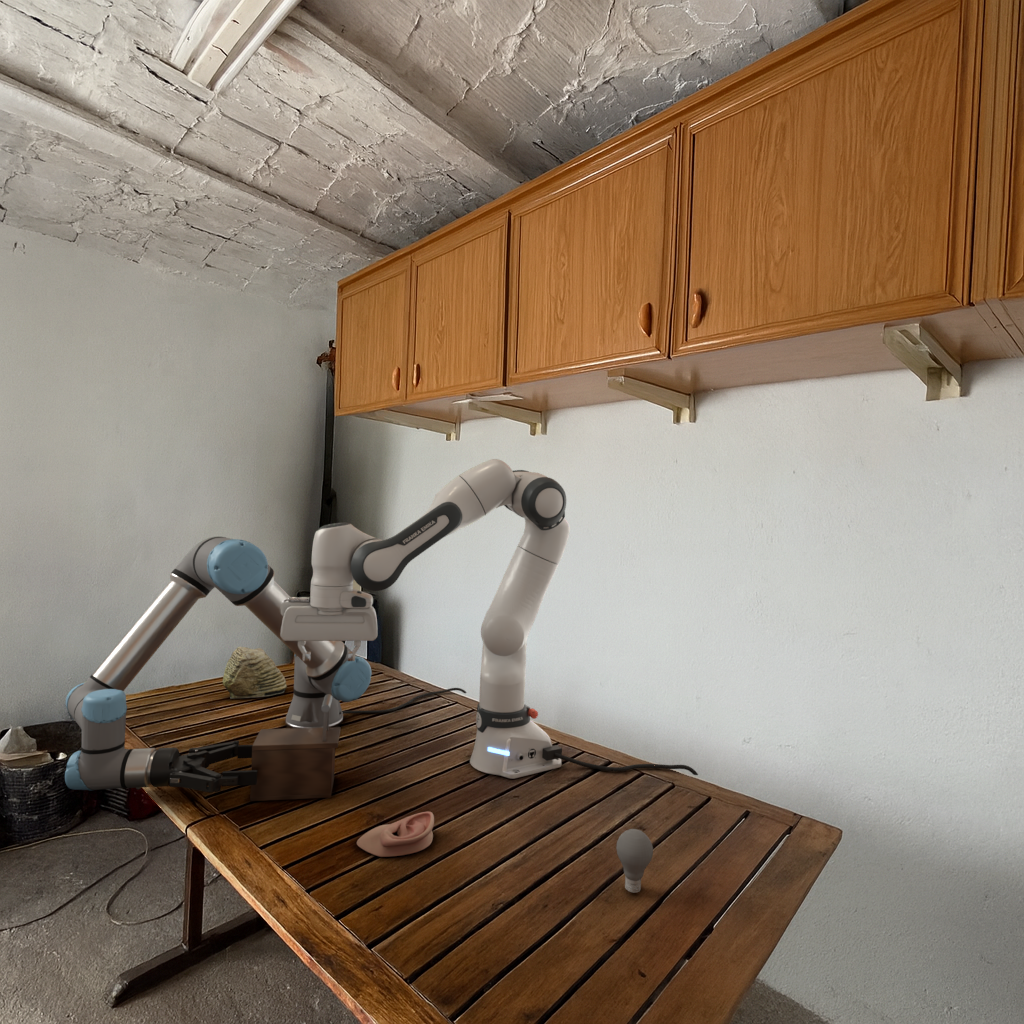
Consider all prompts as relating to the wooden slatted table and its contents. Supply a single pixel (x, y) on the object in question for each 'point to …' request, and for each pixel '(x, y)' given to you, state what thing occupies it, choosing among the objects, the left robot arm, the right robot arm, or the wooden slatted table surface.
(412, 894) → the wooden slatted table surface
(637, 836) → the light bulb
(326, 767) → the chest
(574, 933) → the wooden slatted table surface
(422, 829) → the anatomical model
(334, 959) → the wooden slatted table surface
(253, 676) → the fossil
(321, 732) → the lid
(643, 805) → the wooden slatted table surface
